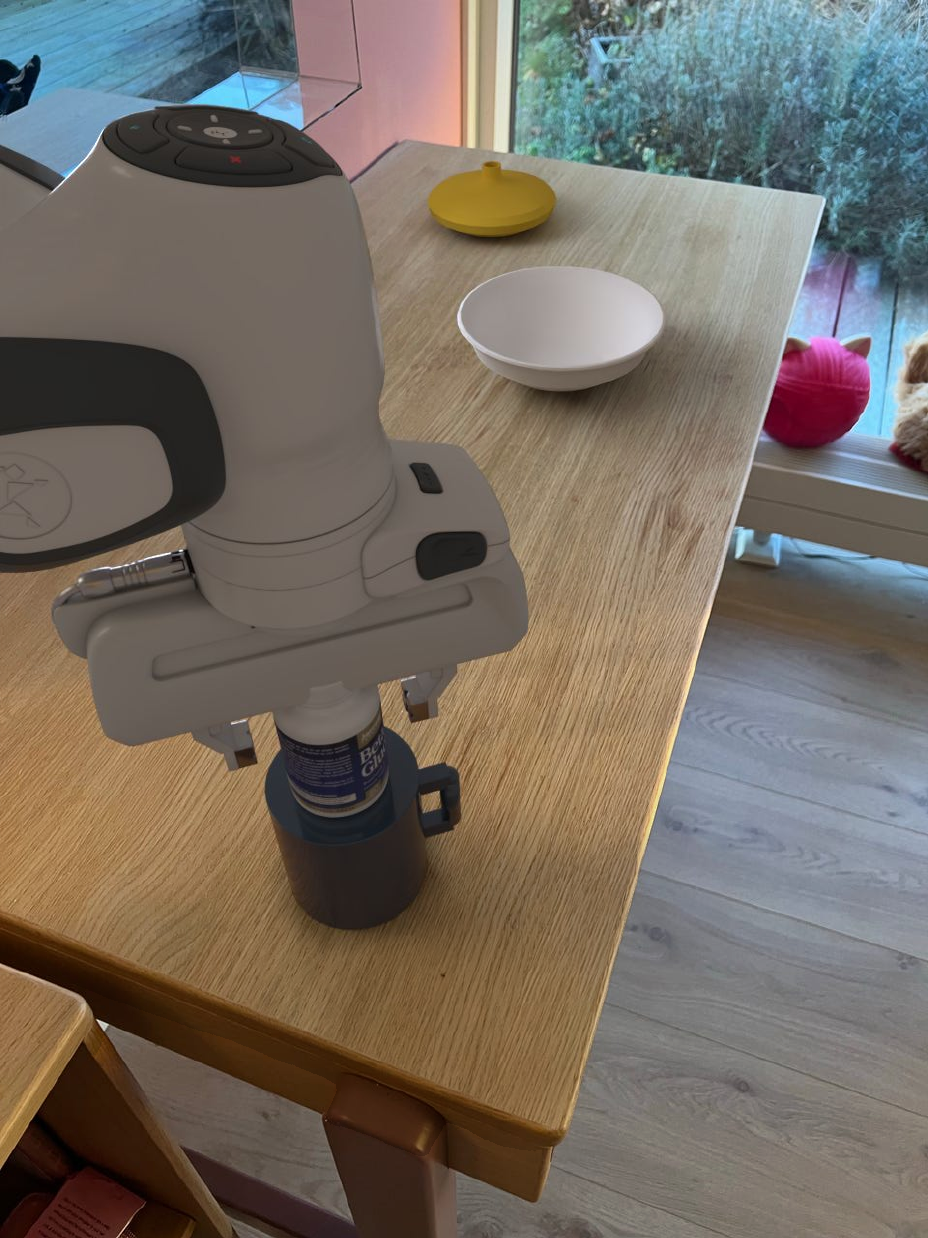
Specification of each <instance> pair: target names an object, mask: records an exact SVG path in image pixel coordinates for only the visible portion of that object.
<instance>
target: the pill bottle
mask: <svg viewBox="0 0 928 1238" xmlns="http://www.w3.org/2000/svg"><path fill="white" fill-rule="evenodd" d="M378 685H379V684H378ZM378 685H374V686H370V687H366V688H362V689H358V690H354V691H348V690H347V689H346V688H344V687H343V682H342V681H338V682H333V683H329V684H325V685H321V686H317V687H313V688H311V689H310V693H311V696H310V698H309V699H308V701H307V702H306V703H303V704H299V705H295V706H291V707H287V708H284V709H280V710H276V711H272V712H271V713H272V717H273V722H274V723H273V724H274V727H275V730H276V735H277V738H278V743H279V747H280V749H281V751H282V755H283V759H284V764H285V768H286V772H287V776H288V780H289V784H290V787H291V790H292V792H293V795H294V797H295V798H296V800H297V801H298V802H299V803H300V805H302V806H303V807H304V808H305V809H307V810H308V811H310V812H312V813H314V814H316V815H319V816H324V817H331V818H333V817H345V816H349V815H353V814H356V813H358V812H360V811H362V810H364V809H366V808H368V807H369V806H371V805H372V804H373V803H374V802H375V801H376V800H377V799H378V798H379V797H380V795H381V794H382V792H383V791H384V789H385V786H386V784H387V780H388V773H389V770H388V757H387V749H386V742H385V733H384V726H385V725H384V718H383V710H382V703H381V702H382V701H381V695H380V690H379V686H378Z"/></svg>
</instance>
